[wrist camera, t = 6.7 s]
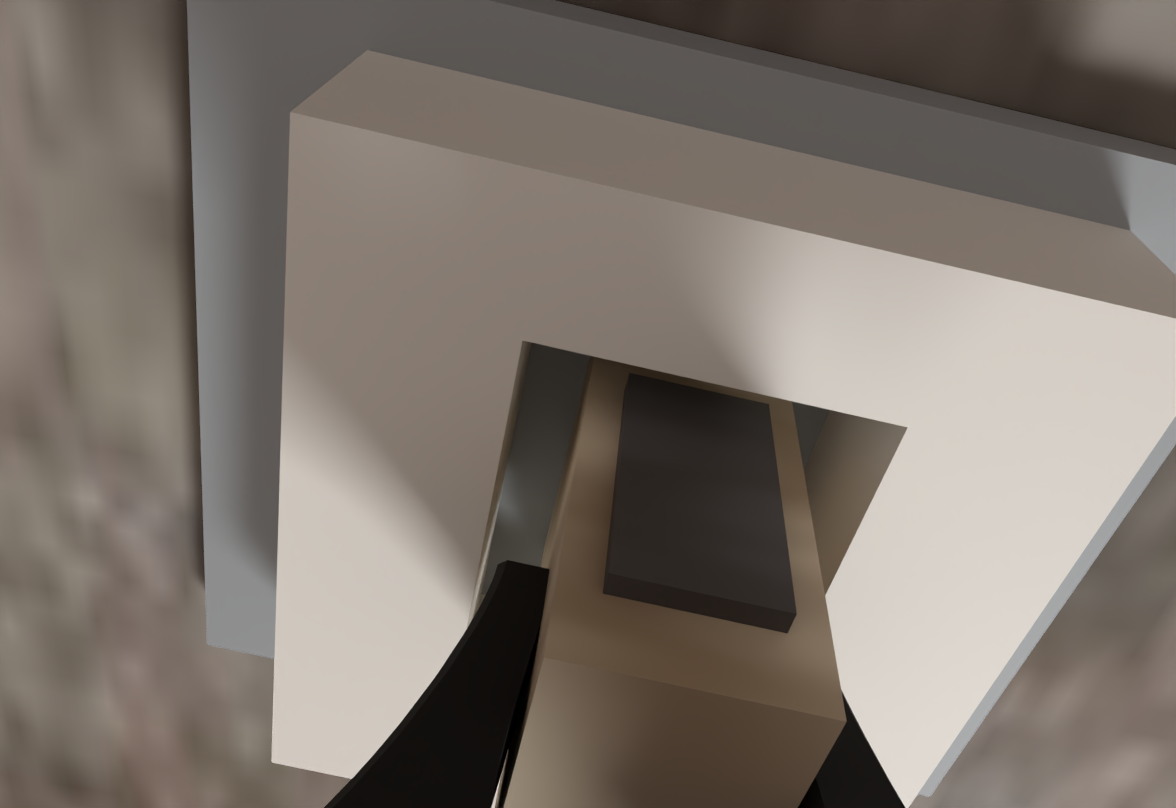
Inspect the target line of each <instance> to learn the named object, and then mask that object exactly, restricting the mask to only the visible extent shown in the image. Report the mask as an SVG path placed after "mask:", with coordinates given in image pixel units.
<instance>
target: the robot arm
mask: <svg viewBox="0 0 1176 808" xmlns="http://www.w3.org/2000/svg"><path fill="white" fill-rule="evenodd" d="M549 570H550V569H547V568H542V567H538V566H533V565H529V564H524V563H519V562H515V561H510V560H506V561H504V562H502V563H499V564H498V565H497V568H496V571H495V574H494V577H493V580H492V582H491V584H490V586H489V589H488V591H487V593H486V595H485V597H484V599H483V601H482V603H481V605H480V607H479V609H478V610H477V612H476V614H475V616H474V617H473V619H472V621H471V623H470V624H469V626H468V628H467V629H466V631H465V633H464V634H463V636H462V637H461V639H460V640H459V642H458V643H457V645H456V647H455V648H454V650H453V651H452V653H451V654H450V656H449V657H448V659H447V660H446V662H445V663H444V665H443V666H442V668H441V669H440V671H439V672H438V674H437V675H436V676H435V678H434V679H433V681H432V682H431V683H430V685H429V686H428V687H427V689H426V690H425V691H424V692H423V694H422V695H421V696H420V698H419V699H418V700H417V702H416V703H415V704H414V706H413V707H412V708H411V710H410V711H409V712H408V714H407V715H406V716H405V717H404V719H403V720H402V721H401V723H400V724H399V725H398V726H397V728H396V729H395V730H394V731H393V732H392V734H391V735H390V736H389V737H388V738H387V740H386V741H385V742H384V743H383V744H382V745H381V747H380V748H379V749H378V750H377V751H376V753H375V754H374V755H373V756H372V757H371V758H370V759H369V760H368V762H367V763H366V764H365V765H364V766H363V767H362V768H361V769H360V770H359V772H358V773H357V774H356V775H355V776H354V777H353V778H352V779H351V780H350V781H349V782H348V784H347V785H346V786H345V787H344V788H343V789H342V790H341V791H340V792H339V793H338V794H337V795H336V796H335V797H334V798H333V799H332V800H331V801H330V802H329V803H328V804H327V805H326V806H325V807H324V808H491V807H492V804H493V800H494V797H495V793H496V790H497V786H498V783H499V780H500V776H501V773H502V769H503V766H504V762H505V759H506V756H507V752H508V749H509V745H510V741H511V737H512V733H513V729H514V725H515V722H516V718H517V714H518V710H519V706H520V702H521V698H522V694H523V690H524V687H525V683H526V679H527V675H528V671H529V667H530V663H531V659H532V655H533V652H534V648H535V644H536V640H537V636H538V632H539V628H540V624H541V621H542V616H543V610H544V603H545V597H546V591H547V584H548V577H549ZM841 691H842V690H841ZM842 697H843V703H844V709H845V715H846V721H847V722H846V724H845V726H844V727H843V729H842V731H841V733H840V734H839V736H838V738H837V740H836V741H835V743H834V745H833V747H832V748H831V750H830V752H829V754H828V755H827V757H826V759H825V761H824V762H823V764H822V766H821V768H820V769H819V771H818V773H817V775H816V776H815V778H814V780H813V782H812V784H811V785H810V787H809V789H808V791H807V792H806V794H805V796H804V798H803V799H802V801H801V803H800V805H799V806H798V808H905V806H904V804H903V803H902V801H901V799H900V798H899V796H898V794H897V792H896V791H895V789H894V787H893V785H892V784H891V782H890V780H889V779H888V777H887V775H886V773H885V771H884V770H883V768H882V766H881V764H880V762H879V760H878V759H877V757H876V755H875V753H874V751H873V749H872V748H871V746H870V744H869V742H868V740H867V739H866V737H865V735H864V733H863V731H862V729H861V727H860V725H859V723H858V722H857V720H856V718H855V716H854V714H853V712H852V710H851V708H850V706H849V704H848V702H847V700H846V698H845V696H844V694H843V692H842Z"/></svg>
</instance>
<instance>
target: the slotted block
mask: <svg viewBox="0 0 1176 808" xmlns="http://www.w3.org/2000/svg"><path fill="white" fill-rule="evenodd" d="M187 22H188V54H189V86H190V118H191V150H192V182H193V215H194V247H195V279H196V311H197V343H198V375H199V407H200V439H201V471H202V503H203V536H204V568H205V600H206V632H207V645H210V646H215V647H220V648H224V649H229V650H234V651H239V652H243V653H248V654H253V655H258V656H262V657H267V658H272V659H274V693H273V728H272V763H277V764H282V765H287V766H292V767H297V768H302V769H306V770H311V771H316V772H321V773H326V774H331V775H336V776H340V777H345V778H350V779H352V778H353V777H354V776H355V775H356V774H357V773H358V772H359V770H360V769H361V768H362V767H363V766H364V765H365V764H366V763H367V762H368V760H369V759H370V758H371V757H372V756H373V755H374V754H375V753H376V751H377V750H378V749H379V748H380V747H381V745H382V744H383V743H384V742H385V741H386V740H387V738H388V737H389V736H390V735H391V734H392V732H393V731H394V730H395V729H396V728H397V726H398V725H399V724H400V723H401V721H402V720H403V719H404V717H405V716H406V715H407V714H408V712H409V711H410V710H411V708H412V707H413V706H414V704H415V703H416V702H417V700H418V699H419V698H420V696H421V695H422V694H423V692H424V691H425V690H426V689H427V687H428V686H429V685H430V683H431V682H432V681H433V679H434V678H435V676H436V675H437V674H438V672H439V671H440V669H441V668H442V666H443V665H444V663H445V662H446V660H447V659H448V657H449V656H450V654H451V653H452V651H453V650H454V648H455V647H456V645H457V643H458V642H459V640H460V639H461V637H462V636H463V634H464V633H465V631H466V629H467V628H468V626H469V624H470V623H471V621H472V619H473V617H474V616H475V614H476V612H477V610H478V609H479V607H480V605H481V603H482V601H483V599H484V597H485V595H486V593H487V591H488V589H489V586H490V584H491V582H492V580H493V577H494V574H495V571H496V568H497V565H498V564H499V563H502V562H504V561H506V560H510V561H515V562H519V563H524V564H529V565H533V566H538V567H541V562H542V556H543V551H544V546H545V542H546V538H547V534H548V530H549V526H550V521H551V517H552V513H553V509H554V505H555V501H556V497H557V493H558V489H559V485H560V481H561V476H562V472H563V468H564V464H565V460H566V456H567V452H568V448H569V444H570V440H571V436H572V431H573V427H574V423H575V419H576V415H577V411H578V407H579V403H580V399H581V395H582V391H583V386H584V382H585V378H586V374H587V370H588V366H589V362H590V358H591V356H594V357H598V358H603V359H607V360H612V361H616V362H620V363H625V364H629V365H634V366H638V367H643V368H647V369H651V370H656V371H660V372H665V373H669V374H674V375H678V376H682V377H687V378H691V379H696V380H700V381H705V382H709V383H713V384H718V385H722V386H727V387H731V388H735V389H740V390H744V391H749V392H753V393H758V394H762V395H766V396H771V397H775V398H780V399H784V400H789V401H792V405H793V411H794V417H795V423H796V428H797V434H798V440H799V446H800V452H801V458H802V464H803V469H804V475H805V481H806V487H807V493H808V499H809V504H810V510H811V516H812V522H813V528H814V534H815V539H816V545H817V551H818V557H819V563H820V569H821V575H822V580H823V586H824V592H825V598H826V604H827V610H828V615H829V621H830V627H831V633H832V639H833V645H834V651H835V656H836V662H837V668H838V674H839V680H840V686H841V690H842V692H843V694H844V696H845V698H846V700H847V702H848V704H849V706H850V708H851V710H852V712H853V714H854V716H855V718H856V720H857V722H858V723H859V725H860V727H861V729H862V731H863V733H864V735H865V737H866V739H867V740H868V742H869V744H870V746H871V748H872V749H873V751H874V753H875V755H876V757H877V759H878V760H879V762H880V764H881V766H882V768H883V770H884V771H885V773H886V775H887V777H888V779H889V780H890V782H891V784H892V785H893V787H894V789H895V791H896V792H897V794H898V796H899V798H900V799H901V801H902V803H903V804H904V806H905V808H908V807H909V806H910V805H911V803H912V802H913V800H914V799H915V797H916V796H917V794H918V795H923V796H928V797H930V796H931V795H932V793H933V792H934V790H935V789H936V787H937V786H938V784H939V783H940V782H941V780H942V779H943V777H944V776H945V774H946V773H947V772H948V770H949V769H950V767H951V766H952V764H953V763H954V762H955V760H956V759H957V757H958V756H959V754H960V753H961V751H962V750H963V749H964V747H965V746H966V744H967V743H968V741H969V740H970V739H971V737H972V736H973V734H974V733H975V731H976V730H977V729H978V727H979V726H980V724H981V723H982V721H983V720H984V718H985V717H986V716H987V714H988V713H989V711H990V710H991V708H992V707H993V706H994V704H995V703H996V701H997V700H998V698H999V697H1000V696H1001V694H1002V693H1003V691H1004V690H1005V688H1006V687H1007V685H1008V684H1009V683H1010V681H1011V680H1012V678H1013V677H1014V675H1015V674H1016V673H1017V671H1018V670H1019V668H1020V667H1021V665H1022V664H1023V662H1024V661H1025V660H1026V658H1027V657H1028V655H1029V654H1030V652H1031V651H1032V650H1033V648H1034V647H1035V645H1036V644H1037V642H1038V641H1039V640H1040V638H1041V637H1042V635H1043V634H1044V632H1045V631H1046V629H1047V628H1048V627H1049V625H1050V624H1051V622H1052V621H1053V619H1054V618H1055V617H1056V615H1057V614H1058V612H1059V611H1060V609H1061V608H1062V607H1063V605H1064V604H1065V602H1066V601H1067V599H1068V598H1069V596H1070V595H1071V594H1072V592H1073V591H1074V589H1075V588H1076V586H1077V585H1078V584H1079V582H1080V581H1081V579H1082V578H1083V576H1084V575H1085V574H1086V572H1087V571H1088V569H1089V568H1090V566H1091V565H1092V563H1093V562H1094V561H1095V559H1096V558H1097V556H1098V555H1099V553H1100V552H1101V551H1102V549H1103V548H1104V546H1105V545H1106V543H1107V542H1108V541H1109V539H1110V538H1111V536H1112V535H1113V533H1114V532H1115V530H1116V529H1117V528H1118V526H1119V525H1120V523H1121V522H1122V520H1123V519H1124V518H1125V516H1126V515H1127V513H1128V512H1129V510H1130V509H1131V508H1132V506H1133V505H1134V503H1135V502H1136V500H1137V499H1138V497H1139V496H1140V495H1141V493H1142V492H1143V490H1144V489H1145V487H1146V486H1147V485H1148V483H1149V482H1150V480H1151V479H1152V477H1153V476H1154V475H1155V473H1156V472H1157V470H1158V469H1159V467H1160V466H1161V464H1162V463H1163V462H1164V460H1165V459H1166V457H1167V456H1168V454H1169V453H1170V452H1171V450H1172V449H1173V447H1174V446H1175V444H1176V149H1172V148H1168V147H1163V146H1159V145H1155V144H1151V143H1147V142H1143V141H1138V140H1134V139H1130V138H1126V137H1122V136H1118V135H1114V134H1109V133H1105V132H1101V131H1097V130H1093V129H1089V128H1084V127H1080V126H1076V125H1072V124H1068V123H1064V122H1059V121H1055V120H1051V119H1047V118H1043V117H1039V116H1035V115H1030V114H1026V113H1022V112H1018V111H1014V110H1010V109H1005V108H1001V107H997V106H993V105H989V104H985V103H980V102H976V101H972V100H968V99H964V98H960V97H956V96H951V95H947V94H943V93H939V92H935V91H931V90H926V89H922V88H918V87H914V86H910V85H906V84H901V83H897V82H893V81H889V80H885V79H881V78H877V77H872V76H868V75H864V74H860V73H856V72H852V71H847V70H843V69H839V68H835V67H831V66H827V65H822V64H818V63H814V62H810V61H806V60H802V59H798V58H793V57H789V56H785V55H781V54H777V53H773V52H768V51H764V50H760V49H756V48H752V47H748V46H743V45H739V44H735V43H731V42H727V41H723V40H719V39H714V38H710V37H706V36H702V35H698V34H694V33H689V32H685V31H681V30H677V29H673V28H669V27H664V26H660V25H656V24H652V23H648V22H644V21H640V20H635V19H631V18H627V17H623V16H619V15H615V14H610V13H606V12H602V11H598V10H594V9H590V8H585V7H581V6H577V5H573V4H569V3H565V2H561V1H556V0H187ZM500 777H501V776H500ZM499 782H500V780H499ZM498 788H499V783H498V786H497V790H496V793H495V797H494V800H493V804H492V807H491V808H495V803H496V798H497V793H498Z"/></svg>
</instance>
